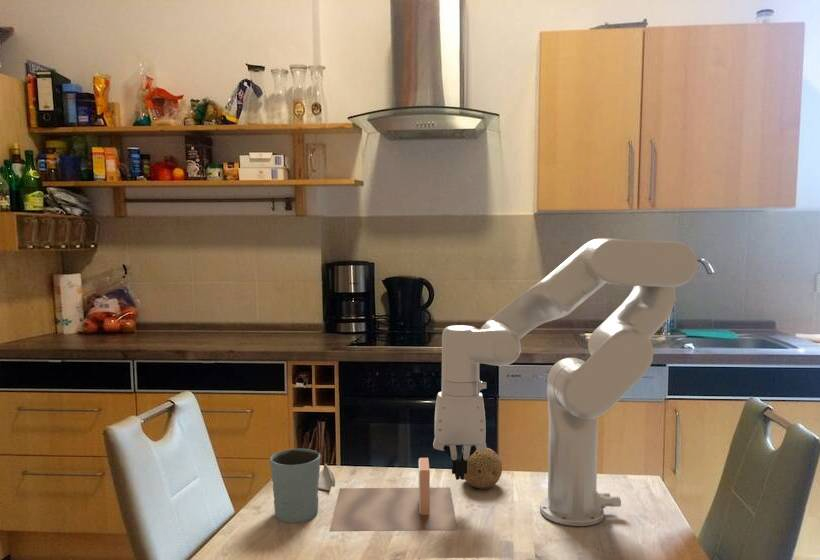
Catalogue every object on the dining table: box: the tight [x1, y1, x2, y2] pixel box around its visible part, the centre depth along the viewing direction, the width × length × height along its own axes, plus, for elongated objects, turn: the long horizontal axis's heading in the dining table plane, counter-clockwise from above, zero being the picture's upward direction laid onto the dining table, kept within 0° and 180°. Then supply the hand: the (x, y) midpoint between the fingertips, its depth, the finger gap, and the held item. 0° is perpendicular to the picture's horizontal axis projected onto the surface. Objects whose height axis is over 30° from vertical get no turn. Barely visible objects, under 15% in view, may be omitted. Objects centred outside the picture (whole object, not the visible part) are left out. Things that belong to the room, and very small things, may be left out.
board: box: [329, 486, 459, 532], centre depth 130 cm, size 24×20×2 cm
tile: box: [418, 457, 431, 515], centre depth 129 cm, size 2×7×9 cm, turn 1°
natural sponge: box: [464, 447, 503, 490], centre depth 140 cm, size 9×9×10 cm
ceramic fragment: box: [318, 463, 336, 493], centre depth 146 cm, size 14×5×4 cm, turn 16°
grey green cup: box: [269, 448, 321, 524], centre depth 130 cm, size 10×10×12 cm
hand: (459, 477), depth 129 cm, fingers closed
